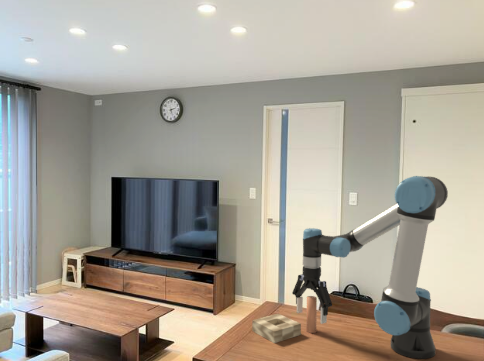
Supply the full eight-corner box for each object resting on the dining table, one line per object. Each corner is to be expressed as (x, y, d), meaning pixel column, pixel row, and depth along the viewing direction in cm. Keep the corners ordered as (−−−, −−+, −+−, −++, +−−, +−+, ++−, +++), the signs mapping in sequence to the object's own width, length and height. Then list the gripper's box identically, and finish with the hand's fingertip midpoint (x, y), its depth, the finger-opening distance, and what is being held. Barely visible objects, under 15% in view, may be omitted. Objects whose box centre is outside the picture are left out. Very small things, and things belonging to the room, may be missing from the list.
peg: (318, 331, 157) (318, 297, 157) (311, 334, 154) (311, 299, 154) (311, 328, 160) (311, 295, 160) (304, 330, 158) (304, 297, 157)
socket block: (300, 334, 154) (300, 323, 154) (274, 343, 146) (274, 331, 145) (278, 323, 165) (278, 313, 165) (252, 331, 157) (252, 320, 157)
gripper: (341, 271, 149) (340, 325, 149) (297, 259, 169) (296, 307, 170) (328, 274, 145) (327, 329, 145) (284, 261, 165) (284, 310, 165)
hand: (311, 317), depth 157 cm, fingers open, 13 cm apart
